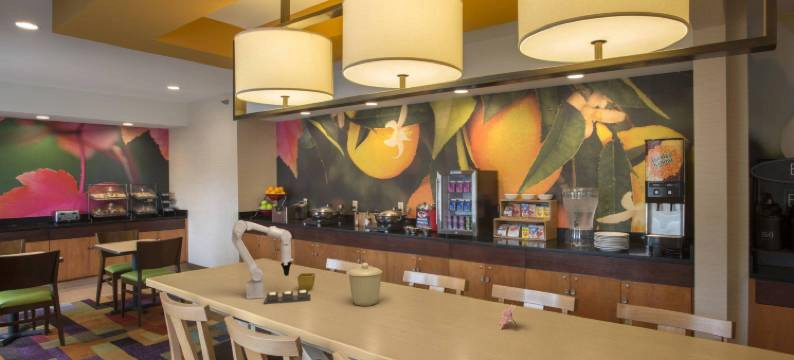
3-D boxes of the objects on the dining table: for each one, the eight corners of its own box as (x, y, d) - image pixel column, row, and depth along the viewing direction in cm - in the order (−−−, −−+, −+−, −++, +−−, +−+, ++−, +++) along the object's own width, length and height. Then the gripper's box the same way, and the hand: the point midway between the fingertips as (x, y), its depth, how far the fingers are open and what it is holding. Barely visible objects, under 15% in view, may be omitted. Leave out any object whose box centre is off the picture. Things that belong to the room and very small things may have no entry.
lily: (505, 322, 204) (494, 304, 203) (529, 315, 198) (518, 297, 197) (499, 339, 193) (488, 320, 193) (525, 332, 188) (513, 313, 187)
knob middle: (284, 299, 244) (284, 292, 244) (284, 297, 247) (284, 291, 247) (291, 298, 245) (291, 292, 245) (291, 296, 248) (291, 290, 248)
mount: (264, 304, 239) (263, 296, 239) (265, 299, 249) (265, 292, 249) (310, 300, 243) (310, 293, 243) (310, 296, 253) (310, 288, 253)
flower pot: (312, 291, 263) (312, 276, 263) (297, 292, 263) (297, 276, 263) (315, 288, 272) (315, 273, 272) (301, 288, 272) (300, 273, 272)
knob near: (268, 300, 242) (268, 293, 242) (269, 298, 246) (269, 292, 246) (275, 299, 243) (275, 293, 243) (276, 298, 247) (276, 291, 247)
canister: (341, 306, 232) (340, 264, 232) (360, 297, 248) (359, 258, 248) (371, 310, 224) (370, 267, 224) (389, 300, 240) (388, 260, 240)
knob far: (299, 298, 245) (299, 291, 245) (299, 296, 249) (299, 290, 249) (306, 297, 246) (306, 291, 246) (306, 295, 250) (306, 289, 250)
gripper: (292, 253, 253) (293, 277, 253) (293, 249, 267) (294, 272, 267) (279, 254, 252) (280, 278, 252) (281, 250, 266) (281, 273, 266)
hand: (286, 275), depth 259 cm, fingers closed
